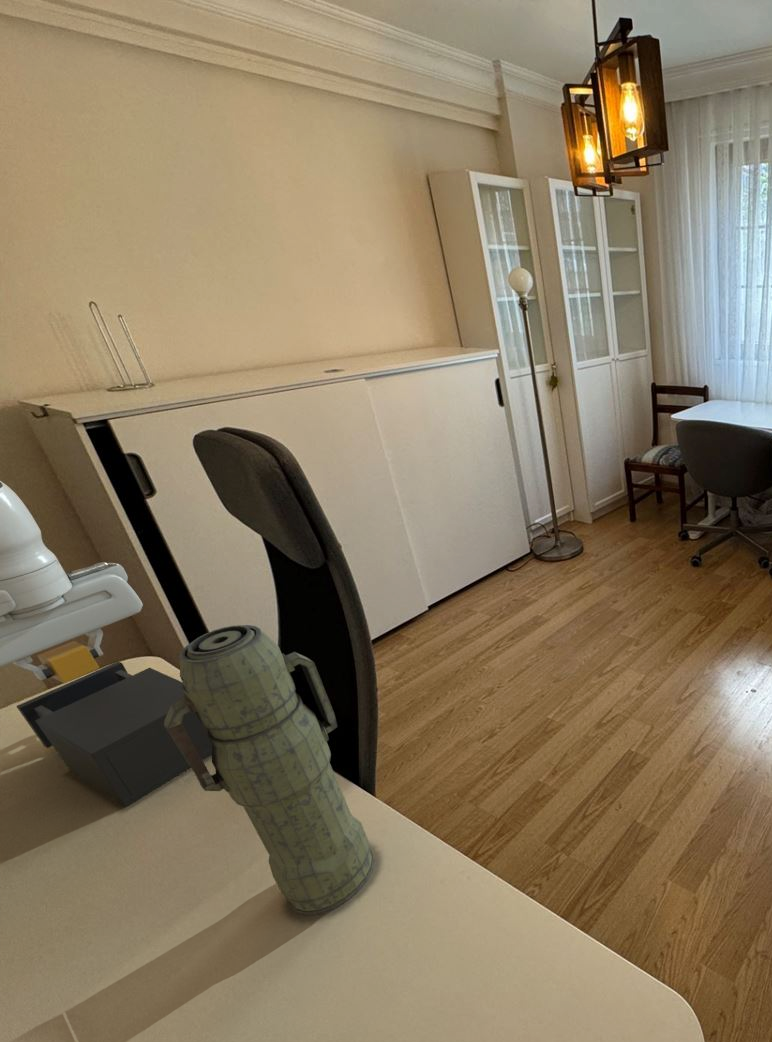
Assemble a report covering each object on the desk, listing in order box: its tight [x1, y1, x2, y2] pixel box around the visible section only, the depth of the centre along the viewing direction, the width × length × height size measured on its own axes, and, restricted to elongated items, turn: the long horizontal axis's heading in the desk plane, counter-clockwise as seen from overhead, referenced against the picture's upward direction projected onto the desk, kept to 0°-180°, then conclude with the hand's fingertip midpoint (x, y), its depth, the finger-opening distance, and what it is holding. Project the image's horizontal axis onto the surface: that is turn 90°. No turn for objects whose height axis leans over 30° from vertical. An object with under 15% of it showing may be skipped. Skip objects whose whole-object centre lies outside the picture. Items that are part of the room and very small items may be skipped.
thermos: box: [164, 624, 375, 916], centre depth 60 cm, size 9×12×35 cm
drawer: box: [16, 661, 132, 749], centre depth 88 cm, size 19×12×8 cm, turn 67°
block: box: [37, 640, 100, 684], centre depth 84 cm, size 4×4×4 cm
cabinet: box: [35, 667, 212, 808], centre depth 83 cm, size 16×13×10 cm
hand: (71, 666), depth 84 cm, fingers closed on block, 4 cm apart
